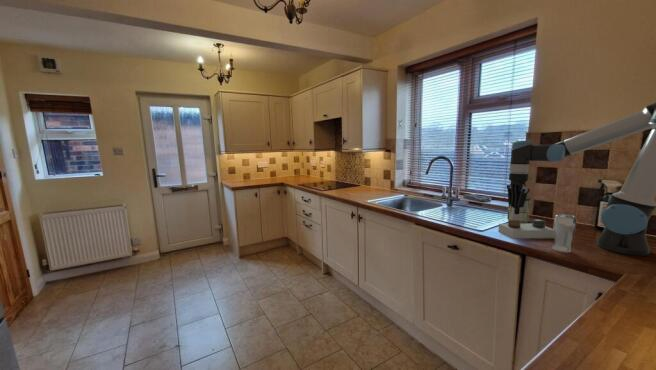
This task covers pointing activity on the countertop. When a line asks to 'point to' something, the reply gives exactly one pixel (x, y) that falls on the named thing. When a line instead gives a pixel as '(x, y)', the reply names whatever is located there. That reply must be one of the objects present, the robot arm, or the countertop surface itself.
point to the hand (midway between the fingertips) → (514, 219)
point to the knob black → (538, 223)
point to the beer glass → (563, 232)
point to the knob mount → (526, 231)
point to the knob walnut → (514, 223)
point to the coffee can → (521, 211)
